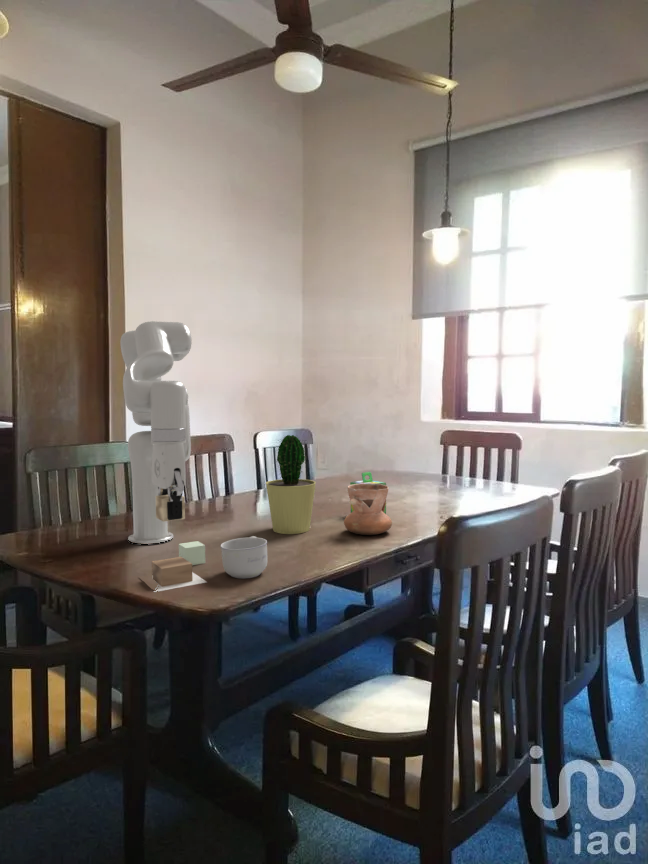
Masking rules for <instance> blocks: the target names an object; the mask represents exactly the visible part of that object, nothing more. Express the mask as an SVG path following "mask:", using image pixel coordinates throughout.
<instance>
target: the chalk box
mask: <svg viewBox="0 0 648 864" xmlns="http://www.w3.org/2000/svg"><path fill="white" fill-rule="evenodd" d="M366 476H368V477H369V478H368V479H367V478H366ZM361 478H362V480H355V481H351V482H350V483H349V485H352V484H361V483H372V484H375V483H377V484H382V485H386V486H387V483H386V482H384V481H379V480H373V476H372V472H371V471H365V472H362V473H361ZM353 511H354V507H353V505H351V504H350V513H352V512H353ZM384 513H385V514H386V515H387V504H386V505H385V509H384Z"/></svg>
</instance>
